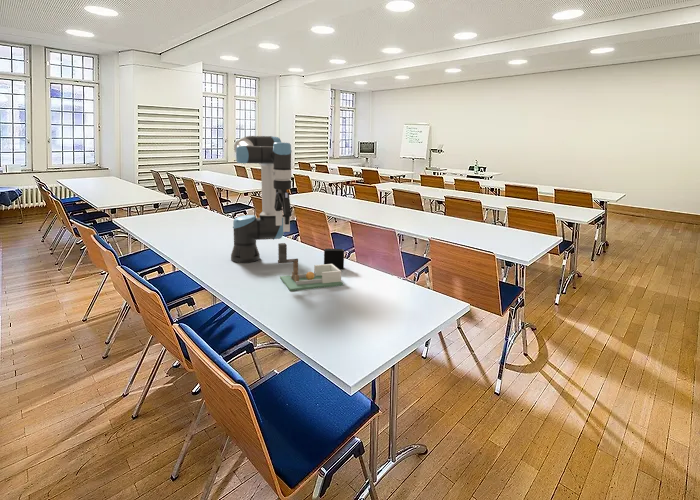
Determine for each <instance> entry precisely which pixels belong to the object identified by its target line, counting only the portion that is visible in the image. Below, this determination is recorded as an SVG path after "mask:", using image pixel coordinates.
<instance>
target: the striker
mask: <svg viewBox="0 0 700 500" xmlns="http://www.w3.org/2000/svg"><path fill="white" fill-rule="evenodd" d="M277 246H278V249H277V250H278V253H277V254H278V256H277V258H278V259H277V264H290V263H291V264H292V271H291V275H292V279H293V280H294V281H295V282H296V281H299V275H298V274H299V258H288V256H287V255H288V254H287V253H288V252H287V251H288V249H287V248H288V247H287V244H286V243H285V242H282V243H278V245H277Z"/></svg>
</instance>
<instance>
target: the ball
mask: <svg viewBox="0 0 700 500" xmlns="http://www.w3.org/2000/svg"><path fill="white" fill-rule="evenodd" d="M305 274H306V278H307V279H308V280H312V279H314V272H313V271H307V273H305Z"/></svg>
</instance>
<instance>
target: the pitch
mask: <svg viewBox="0 0 700 500" xmlns="http://www.w3.org/2000/svg"><path fill="white" fill-rule="evenodd" d="M313 271H314V272H313V273H314V279H312V280H308V279H307V278H306V274H307V273H300V274H299V273H298V275H299V281H296V282H295V281H294V280H293V279H292V274H290V275H281V276H279V279H280V280H281V281H282V283H283V284H284V286H285V287H287V289H288V290H289V292H294V291H302V290H312V289H321V288H322V289H323V288H331V287H332V288H333V287H341V286H344V283H343V281H342V270H339V269H338V268H337V267H335V266H334V265H333V264H324V263H323V264H314V267H313Z"/></svg>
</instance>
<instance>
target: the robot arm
mask: <svg viewBox="0 0 700 500" xmlns="http://www.w3.org/2000/svg"><path fill="white" fill-rule="evenodd" d="M233 147H234V149H233V150H234V152H235V162H236V163H237V164H244V165H246V164H259V165H260V169H261V170H260V171H261V172H260V173H261V178H260V179H261V205H262V206H261V207H262V209H261V210H262V211H261V212H260V213H259V217H257V216H256V215H254V214H247V215H241V216H238V217H235V218H234V219H233V220H232V221H233V223H232V224H233V226H232V228H233V247H232V251H231V254H230V260H231V261H232V262H234V263H244V264H245V263H247V264H248V263H254V262H257V261H260V259H261V258H260V257H261V256H260V255H261V254H260V251H259V248H258V246H257V241H258V240H259V241H260V240H279V239H280V240H281V239H282V238H283V236H284V234H285V233H288V232H289V233H290V232H291V224H290V223H291V216H292V209H291V208H292V207H291V201H290V200H291V198H290V192H287V190H291V189H292V181H291V179H292V145H291V143H290V142H282V140H281V138H280V137H278V136H272V135H270V136H269V135H268V136H266V135H248V136H243V137H241V138H239V139H237V140H236V141H235V143H234V145H233Z"/></svg>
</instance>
